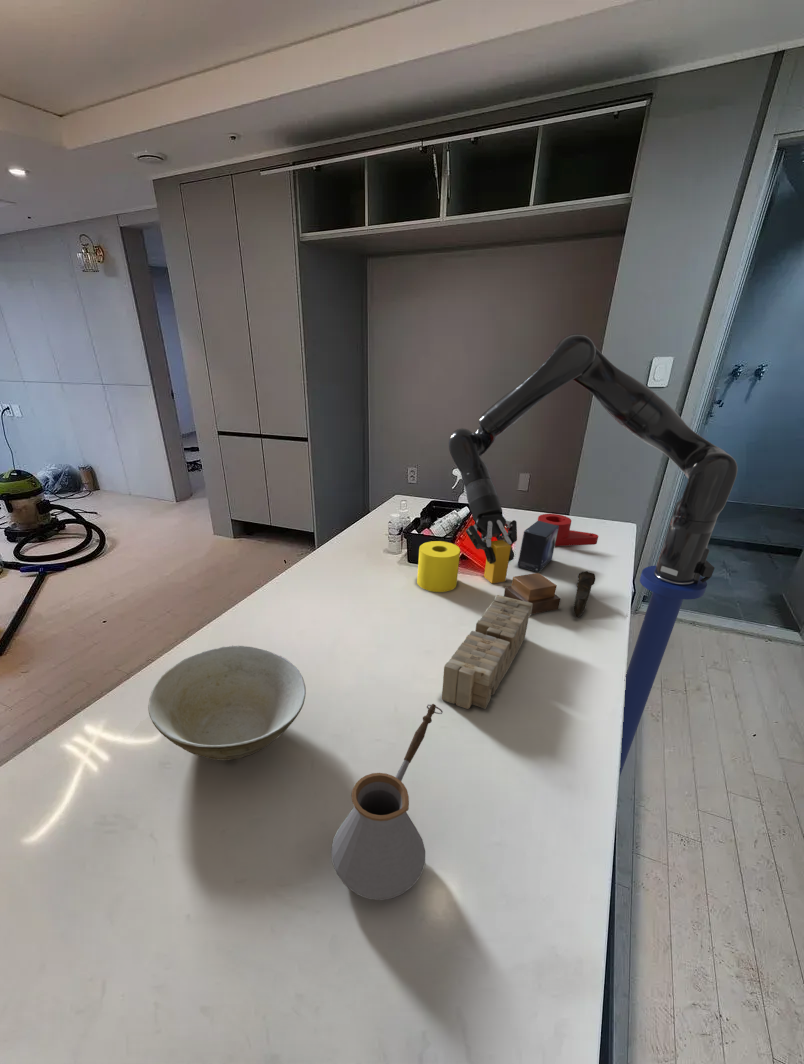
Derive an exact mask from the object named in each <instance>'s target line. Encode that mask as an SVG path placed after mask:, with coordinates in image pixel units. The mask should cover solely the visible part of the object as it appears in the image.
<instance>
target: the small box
mask: <svg viewBox="0 0 804 1064" xmlns="http://www.w3.org/2000/svg"><path fill="white" fill-rule="evenodd" d="M558 529H559V526H558V525H554V524H549V523H546V522H542V521H538V520H536V521H535V522H534V523H533V524H531V525H530V526H529V527H527V528H526V529H525V530H524V531H523V534H522V538H521V539H522V540H521V545H520V551H519V556H518V561H517V565H516V567H518V568H522V569H525V570H529V571H532V572H534V573H540V572H541V571H542V570H543V569H544V568H545V567H546V566H547V565H548V564H549V563H550V562H551V561H552V560H553V556H554V551H555V547H556V546H555V542H556V538H557V533H558Z"/></svg>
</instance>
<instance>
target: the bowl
mask: <svg viewBox="0 0 804 1064" xmlns="http://www.w3.org/2000/svg"><path fill="white" fill-rule="evenodd" d="M150 692H151V693H150V695H149V699H148V705H147V711H148V715H149V719H150V720H151V723H152V724H153V726H154V727H155V729H156V730H158V732H159V733H160V734H161V735H163V736H164V738H165V739H167V740H168V741H170V742H171V743H173V744H174V745H176V746H178V747H179V748H181V749H183V750H184V751H186V752H187V753H190V754H193V755H195V756H197V757H201V758H206V759H210V760H217V761H231V760H237V759H241V758H245V757H248V756H250V755H253V754H255V753H258V752H259V751H262V749H264V748H265V747H268V746H269V745H270V744H272V743H273V742H274V741H275V740H276V739H278V738H279V737H280V736H281V735H283V734H284V733H285V731H287V729H288V728H289V727H290V726H291V725H292V724H293V722H294V721H295V720H296V718H298V716H299V714H300V713H301V711H302V709H303V707H304V704H305V699H306V694H307V688H306V684H305V680H304V677H303V675H302V673H301V672H300V670H299V668H298V667H296V665H294V664H293V662H291V661H290V660H288V659H287V658H285V657H283V656H282V655H279V654H277V653H274V652H272V651H270V650H267V649H263V648H258V647H254V646H247V645H230V646H222V647H218V648H212V649H207V650H205V651H202V652H200V653H197V654H193V655H191V656H188V657H186V658H184V659H182V660H180V661H179V662H177V663H176V664H175V665H173V666H171V668H169V669H167V671H165V672H164V673H163V674H162V675H161V676H160V678H159V679H158V680H157V682H156V683H155V685H154V686H153V688H152V689H151V691H150Z"/></svg>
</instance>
